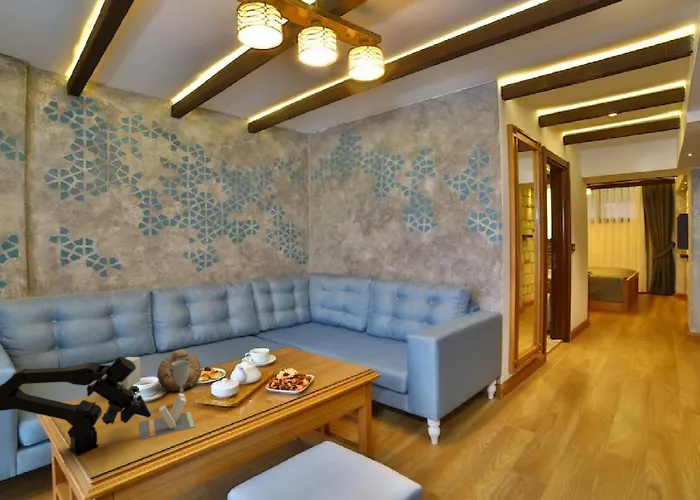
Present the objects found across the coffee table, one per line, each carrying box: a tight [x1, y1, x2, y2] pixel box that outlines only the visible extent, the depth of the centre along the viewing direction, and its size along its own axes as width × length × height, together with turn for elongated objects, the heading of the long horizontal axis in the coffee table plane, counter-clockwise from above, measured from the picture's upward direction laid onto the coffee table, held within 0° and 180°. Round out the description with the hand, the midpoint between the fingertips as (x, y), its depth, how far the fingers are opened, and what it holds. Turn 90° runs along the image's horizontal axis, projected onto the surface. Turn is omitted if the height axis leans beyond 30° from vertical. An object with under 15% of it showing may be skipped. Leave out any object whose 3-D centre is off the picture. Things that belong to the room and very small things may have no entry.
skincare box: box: [118, 356, 141, 389], centre depth 175 cm, size 8×7×16 cm
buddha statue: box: [156, 348, 202, 393], centre depth 184 cm, size 20×17×17 cm
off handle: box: [158, 404, 176, 429], centre depth 143 cm, size 2×3×8 cm, turn 27°
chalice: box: [172, 360, 190, 405], centre depth 163 cm, size 7×7×18 cm
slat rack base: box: [138, 393, 196, 441], centre depth 146 cm, size 18×14×10 cm
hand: (150, 416), depth 140 cm, fingers closed
